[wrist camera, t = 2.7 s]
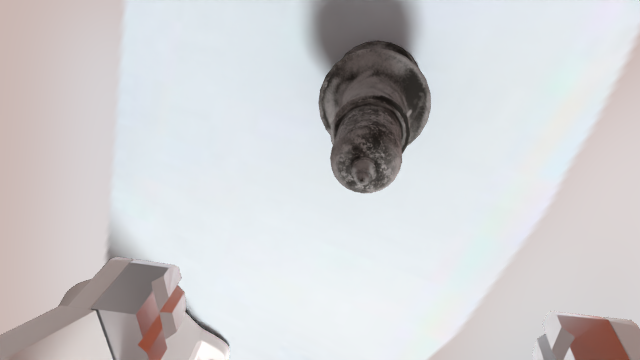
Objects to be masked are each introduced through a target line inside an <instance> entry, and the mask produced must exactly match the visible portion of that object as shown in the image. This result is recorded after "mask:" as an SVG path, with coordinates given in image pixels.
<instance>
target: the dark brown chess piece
mask: <svg viewBox="0 0 640 360" xmlns="http://www.w3.org/2000/svg"><path fill="white" fill-rule="evenodd" d="M430 109H431V96H430V90H429V87H428V84H427V81H426V78H425V77H424V75H423V74H422V72H421V71H420V69H419V68H418V65H417V64H416V62H415V61H414V59H413V58H412V56H411V55H410V54H409V53H407V52H406V51H405V50H404V49H403V48H401V47H399V46H397V45H395V44H392V43H389V42H383V41H374V42H366V43H364V44H361V45H359V46H356V47H355V48H353V49H352V50H351V51H349V52H348V53H347V54H346V55H345V56H344V57H343V58H342V60H340V61H339V62H338V63H336V64H335V65H334V66H333V68H332V69H331V70H330V71H329V73H328V74H327V75H326V77H325V79H324V82H323V84H322V87H321V89H320V96H319V110H320V117H321V119H322V121H323V124H324V126H325V128H326V130H327V131H328V133H329V134H330V135H331V142H332V144H333V147H332V151H331V157H330V159H331V167H332V171H333V173H334V175H335V177H336V178H337V180H338V181H339V182H340V183H341V184H342V185H343V186H345V187H346V188H347V189H350V190H352V191H354V192H359V193H373V192H376V191H380V190H382V189H384V188H385V187H387V186H388V185H389V184H390V183H391V182H393V181H394V179H395V178H396V176H397V174H398V172H399V170H400V167H401V163H402V153H403V152H404V150H405V148H406V147H407V146H408V145H409V144H411V143H412V142H413V141H414V140H415V139H416V138H417V137H418V136H419V135H420V133H421V132H422V130H423V128H424V126H425V125H426V123H427V120H428V117H429V113H430Z"/></svg>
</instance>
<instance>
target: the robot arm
mask: <svg viewBox="0 0 640 360" xmlns="http://www.w3.org/2000/svg"><path fill="white" fill-rule="evenodd" d="M181 278H182V277H181V274H180V270H179V267H178V266H175V265H172V264H165V263H158V262H151V261H145V260H138V259H128V258H122V257H115V258H112V259H110V260H109V261H108V262H107V263H106V264H105V265H104V266H103V268H102V269H101V270H100V271H99V272H98V273H97V274H96V275H95V277H94V278H93V279H90V280H86V281H83V282H81V283H78V284H76V285H75V286H73V287H72V288H71V289H69V291H67V293H66V294H65V296H64V297H63V299H62V301H61V303H60V304H59V306H58V307H57V308H55V309H53V310H51V311H49V312H46V313H45V314H43V315H40V316H38V317H36V318H35V319H32V320H30V321H28V322H26V323H24V324H22V325H20V326H18V327H16V328H14V329H12V330H10V331H8V332H6V333H3V334H1V335H0V360H229V353H230V349H229V346H228V345H227V344H226V343H225V342H224V341H223V340H221V339H220V338H218V337H216V336H215V335H213V334H211V333H210V332H208V331H206V330H204V329H202V328H201V327H200V326H199V325H198V324H197V323H195V322H194V320H193V319H192V318H191V317H190V316H189V315H188V314H187V313H186V312H185V310H186V297H185V292H184V291H183V290H182V289H181V288H180V287H179V286H178V285H177V284H178V283H179V281H180V280H181ZM543 327H544V330H545V332H546V334H544V335H543V336H541V337H539V338H538V339H537V340H536V343H535V346H534V350H533V360H640V329H639V327H638V326H637V324H635V323H634V322H633V321H632V320H625V319H617V318H607V317H603V318H602V317H597V316H589V315H580V314H571V313H562V312H553V311H550V312H549V313H548V314H547V315H546V317H545V319H544V322H543Z"/></svg>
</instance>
